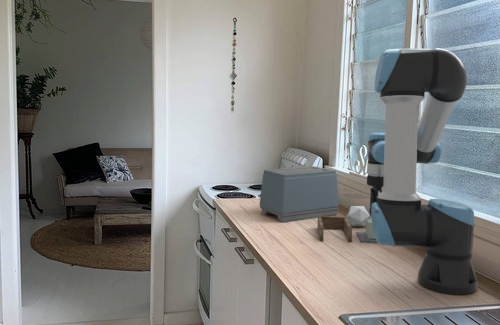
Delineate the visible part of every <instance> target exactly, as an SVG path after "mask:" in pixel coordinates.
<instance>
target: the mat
mask: <svg viewBox="0 0 500 325" xmlns="http://www.w3.org/2000/svg"><path fill="white" fill-rule="evenodd" d="M356 235H357V237H358V239H359V241H360V243H364V244H365V243H367V244H369V243H370V244H371V243H372V244H379V243H378V242H377V241H376V239H368V237H367V235H366V231H356Z"/></svg>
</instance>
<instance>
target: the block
mask: <svg viewBox="0 0 500 325" xmlns="http://www.w3.org/2000/svg"><path fill="white" fill-rule="evenodd" d="M365 232H366V235H367V237H368V239H373V225H372V219H370V218H369V219H366V225H365Z"/></svg>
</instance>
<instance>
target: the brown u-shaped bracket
mask: <svg viewBox="0 0 500 325" xmlns="http://www.w3.org/2000/svg"><path fill="white" fill-rule="evenodd" d="M324 230H338V231H339V230H341V231H342V230H343V232H344V234H345V237H346V240H347V241H348V243H353V242H352V241H353V227H352V226H351V224H350V222H349V221H348V219H347V216H334V215H333V216H318V218H317V231H318V232H317V233H318V237H319V238H318V239H319V241H320V242H324V238H325V237H324V235H325V231H324Z"/></svg>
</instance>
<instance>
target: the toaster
mask: <svg viewBox="0 0 500 325" xmlns="http://www.w3.org/2000/svg"><path fill="white" fill-rule="evenodd" d="M337 176H338V175H337V171H336V170H335V169H329V168H324V167H318V166H302V167H300V166H299V167H298V166H297V167H287V168H286V167H285V168H273V169H272V168H271V169H263V172H262V182H261V189H260V197H259V208H260V209H261V215H263V214H264V215H263V216H268V215H267V214H270V215H275V216H277V219H278V220H279V222H282V223H289V222H296V221H303V220H310V219H316V218H317V219H318V216H333V217H334V216H336V215H337V210H339V207H340V203H339V190H338V187H339V186H338V177H337Z"/></svg>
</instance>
